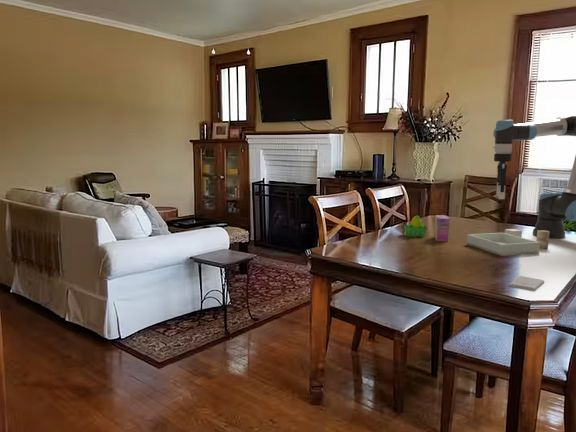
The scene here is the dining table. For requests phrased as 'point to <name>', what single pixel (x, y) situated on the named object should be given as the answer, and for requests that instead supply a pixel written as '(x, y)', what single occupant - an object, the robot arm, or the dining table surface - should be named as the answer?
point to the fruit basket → (415, 228)
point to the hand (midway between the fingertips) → (500, 197)
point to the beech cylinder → (543, 238)
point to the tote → (503, 244)
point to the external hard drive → (526, 283)
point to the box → (441, 228)
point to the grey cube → (514, 232)
